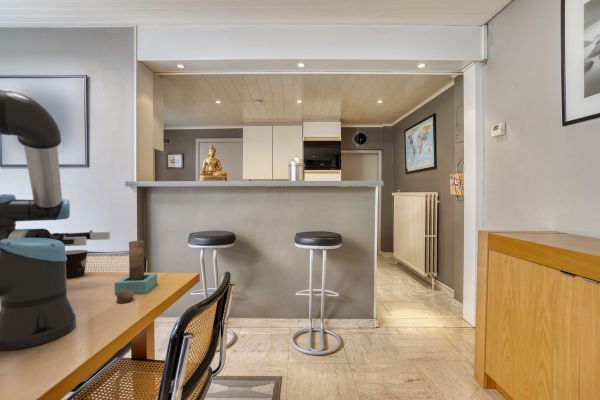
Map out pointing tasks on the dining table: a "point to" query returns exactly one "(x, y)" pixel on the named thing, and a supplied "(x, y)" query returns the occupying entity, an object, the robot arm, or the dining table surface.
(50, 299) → the robot arm
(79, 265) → the coffee mug
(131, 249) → the long pin
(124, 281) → the hole block
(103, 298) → the dining table surface
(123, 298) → the brown rounded block
